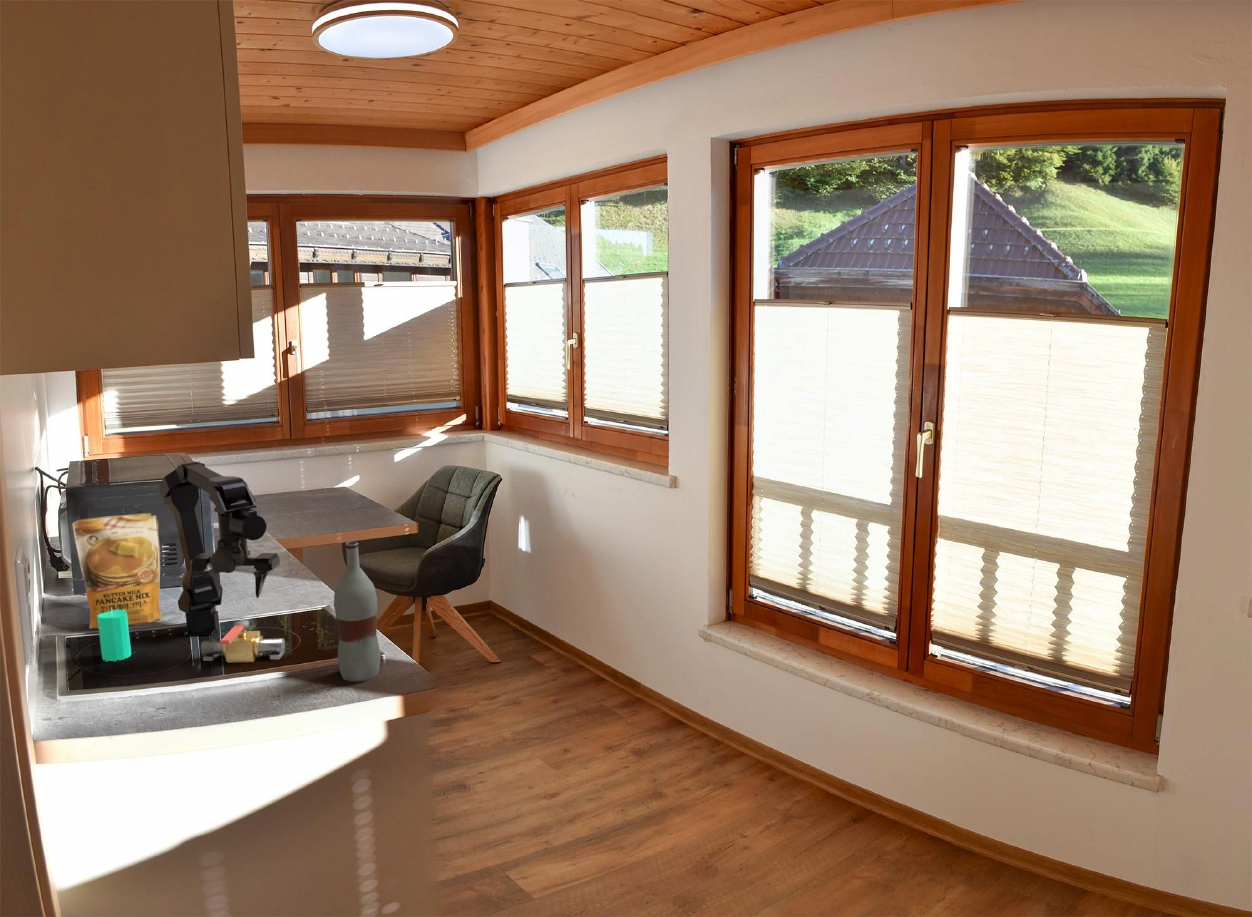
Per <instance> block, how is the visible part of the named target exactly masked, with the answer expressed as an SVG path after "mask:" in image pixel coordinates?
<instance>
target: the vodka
mask: <svg viewBox="0 0 1252 917" xmlns="http://www.w3.org/2000/svg"><path fill="white" fill-rule="evenodd" d="M345 550H346V551H345V552H346V569H345V571H344V573H343V574H342V576H341V578H340V579H339V581H338V583H337V585H336V586H335V589H334V595H333V608H334V613H335V619H336V625H337V633H338V646H337V647H338V648H337V664H338V668H339V672H340V675H341V677H342V678H341V679H343V680H345V681H347V682H352V683H353V682H364V681H368V680H371V679H374V678H375V677H377V676H378V675H379V671H380V667H381V657H382V656H381V650H380V645H379V640H378V636H377V620H378V619H377V617H378V616H377V615H378V597H377V592H376V591H377V590H376V588H375V586H374V585H375V584H374V582H372V581H371V579H370V578H369V577H368V575H367V574H366V572H364V570H363V569H362V567H360V557H359V555H360V554H359V542H358V541H348V542H346V543H345Z"/></svg>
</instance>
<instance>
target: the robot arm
mask: <svg viewBox="0 0 1252 917" xmlns="http://www.w3.org/2000/svg"><path fill="white" fill-rule="evenodd" d="M200 489H201V490H203V491H204V492H206V493H208V495H209V496H208V497H209V498H208V499H209V500H210V501H211V502H212V503H213V504H214V506H215V507H214V509H213V511H214V513H217V521H218V532H219V539H218V540H217V543H216V544H217V548H216V550H215V551H214V552H213V553H211V552H209V553H208V552H205V548H204V543H203V539H202V535H201V530H200V525H199V521H198V517H197V516H198V515H197V513H196V509H197V508H196V507H197V505H198V502H199V499H200ZM158 492H159V495H160V497H161V498H162V500H163V501H162V502H163V504H164V505H165V507H166V508H167V509H169V511H171V512H172V513H173V515H174V520H175V524H176V527H177V528H176V529H177V533H178V537H179V542H180V547H181V550H182V556H183V560H184V565H185V569H186V570H185V571H186V572H185V575H184V578H183V580H182V583H181V585H182V590H183V591H182V592H181V594H180V596H179V598H178V600H177V605H178V610H179V611H181V612H183V613H184V614H185V622H186V630H187V631H186V632H184V636H189V637H190V636H191V637H192V636H210V635H212V634H214V633H215V632H216V630H218V629H219V628H220V627H221V624H220V619H219V611H218V610H217V609H216V607H217V606H222V601H223V600H222V598H223V586H222V583H221V574H220V573H226V574H231V573H233V572H235V570H236V568H237V567H249V566H250V567H252V566H253V569H255V570H254V571H253V576H254V577H255V579H254V580H255V582H254V584H255V597H256V599H257V598H260V596H261V593H262V591H263V588H264V584H265V581H266V579H267V576H268V574H269V573H270V572H271V571H273V570H275V568H277V567H278V566H279V565H280V564H281V562H280V560H281V559H280V556H279V554H278V553H277V552H262V553H260V554H259V555H257V556H256V557H249V556H251V550H248V541H258V540H260V539H261V538H263V536H264V535H265V533H266V531H267V522H266V521H265V518H263V517H262V516H261V515H258V511H257V507H258V506H257V504H256V499H255V496H254V494H253V493H252V491H251V489H250V487H249V485H248V483H247V482H246V481H245V479H243V477H239V476H234V475H233V476H231V475H230V476H229V475H228V476H225V475H222V474H220V473H218V472H216V471H214V470H212V469H210V468H208V467H206V466H205V465H203V463H201V462H200V461H191V462H183V463H181V464H179V465H177V466H176V468H175V469H174V470H173V471H171V472H169V473H168V474H166V475H165V476H164V477H163V478H162V480H161V482H160V483H159V485H158Z"/></svg>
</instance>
